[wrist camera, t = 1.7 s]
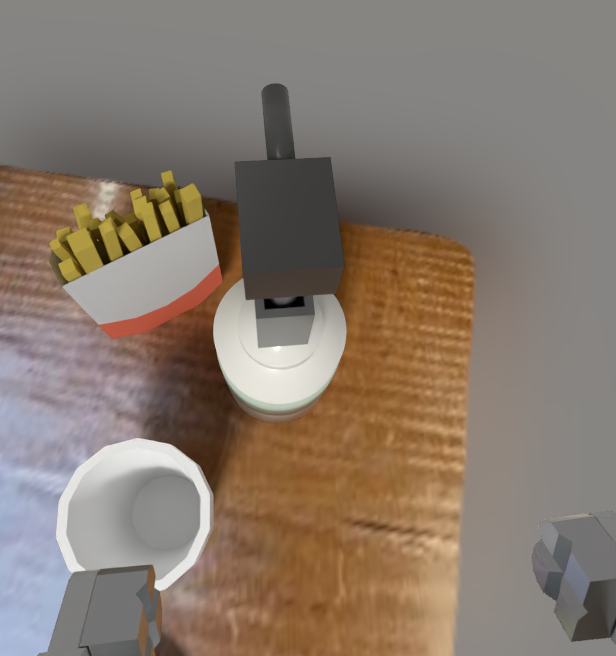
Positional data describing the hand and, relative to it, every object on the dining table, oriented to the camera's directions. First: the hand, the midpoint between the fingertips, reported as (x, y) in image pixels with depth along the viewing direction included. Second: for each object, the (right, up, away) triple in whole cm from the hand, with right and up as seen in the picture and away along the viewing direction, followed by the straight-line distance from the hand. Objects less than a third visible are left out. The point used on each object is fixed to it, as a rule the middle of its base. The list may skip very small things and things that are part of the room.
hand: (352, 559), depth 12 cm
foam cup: (-13, -11, +36) cm, 39 cm away
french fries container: (-15, +7, +41) cm, 44 cm away
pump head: (-3, +9, +20) cm, 22 cm away
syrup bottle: (-4, +1, +40) cm, 40 cm away
